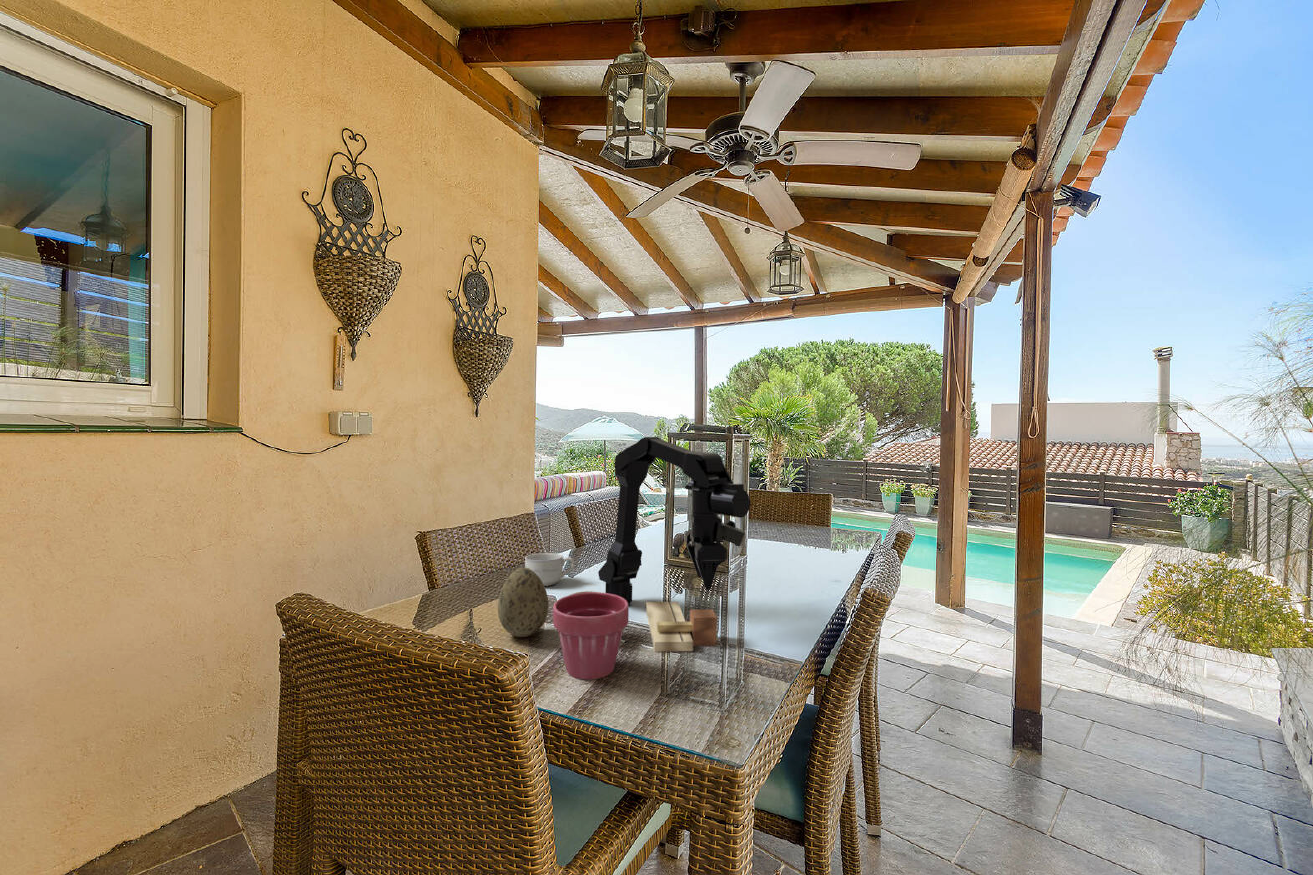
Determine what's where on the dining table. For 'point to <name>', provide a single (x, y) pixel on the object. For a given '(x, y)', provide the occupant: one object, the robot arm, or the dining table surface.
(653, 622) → the board
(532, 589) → the decorative egg
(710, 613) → the wooden mallet
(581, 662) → the plant pot
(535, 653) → the dining table surface
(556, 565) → the teacup
